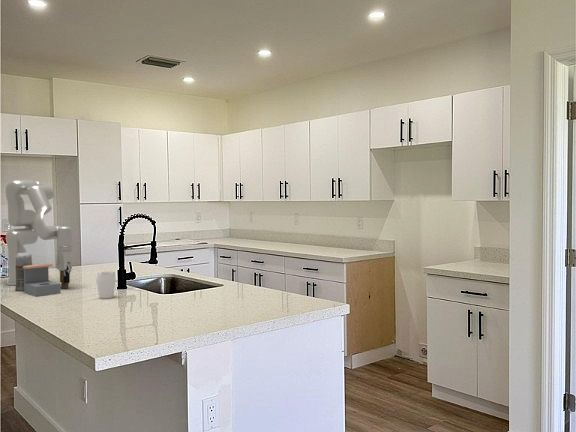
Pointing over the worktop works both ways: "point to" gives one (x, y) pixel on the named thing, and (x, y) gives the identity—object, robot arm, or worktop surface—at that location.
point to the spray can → (21, 269)
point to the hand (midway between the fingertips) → (64, 282)
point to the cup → (106, 284)
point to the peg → (63, 285)
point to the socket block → (39, 281)
